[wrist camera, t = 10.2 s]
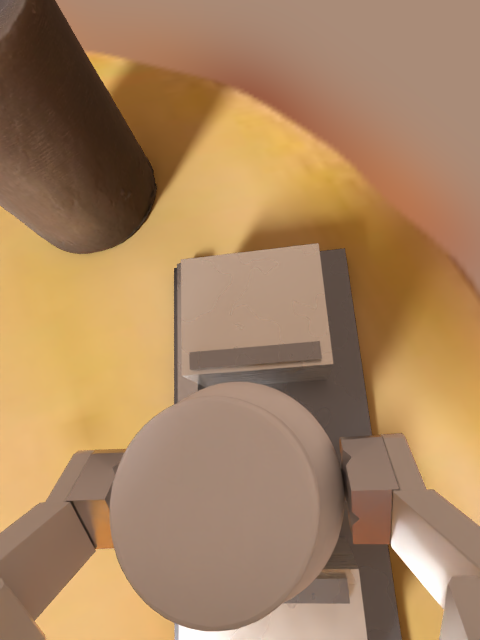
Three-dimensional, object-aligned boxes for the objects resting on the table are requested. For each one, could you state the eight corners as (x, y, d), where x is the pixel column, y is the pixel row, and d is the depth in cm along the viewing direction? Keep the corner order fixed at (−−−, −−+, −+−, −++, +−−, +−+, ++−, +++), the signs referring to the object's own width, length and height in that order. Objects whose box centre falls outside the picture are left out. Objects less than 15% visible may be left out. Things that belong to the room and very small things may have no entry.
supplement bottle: (201, 406, 17) (83, 367, 8) (323, 400, 17) (342, 349, 8) (202, 542, 16) (55, 679, 7) (337, 542, 15) (384, 698, 6)
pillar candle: (182, 189, 28) (59, -62, 14) (83, 282, 27) (-157, 111, 13) (105, 124, 31) (-59, -134, 17) (13, 206, 30) (-240, 2, 16)
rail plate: (411, 727, 18) (464, 870, 12) (179, 717, 19) (125, 839, 13) (343, 254, 25) (355, 197, 19) (177, 273, 26) (141, 226, 21)
